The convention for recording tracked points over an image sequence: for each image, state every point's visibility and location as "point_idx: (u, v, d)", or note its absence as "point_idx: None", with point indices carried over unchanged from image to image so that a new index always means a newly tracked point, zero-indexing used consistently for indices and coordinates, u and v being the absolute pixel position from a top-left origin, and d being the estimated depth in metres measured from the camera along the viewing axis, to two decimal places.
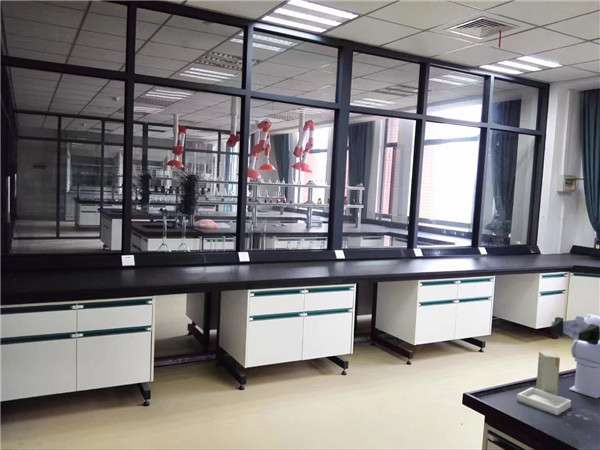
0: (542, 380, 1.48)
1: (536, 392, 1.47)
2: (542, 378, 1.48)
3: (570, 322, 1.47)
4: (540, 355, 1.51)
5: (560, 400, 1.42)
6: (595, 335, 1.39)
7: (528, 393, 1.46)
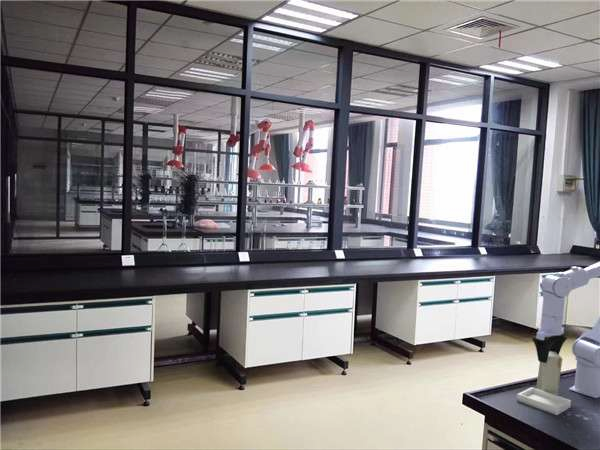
0: (543, 380, 1.47)
1: (536, 392, 1.47)
2: (543, 378, 1.48)
3: None
4: None
5: (560, 400, 1.42)
6: None
7: (528, 393, 1.46)
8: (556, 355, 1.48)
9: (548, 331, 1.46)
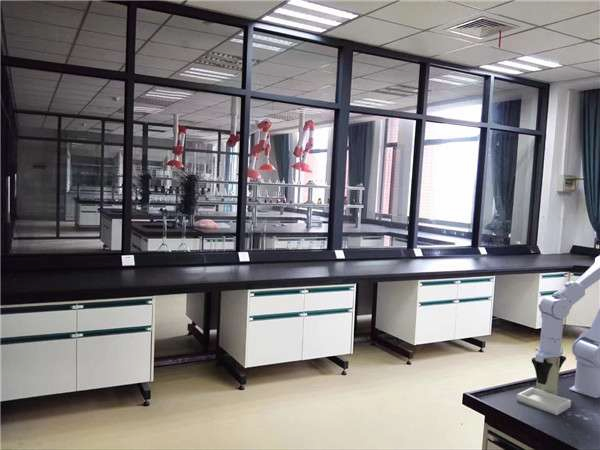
0: None
1: (536, 392, 1.47)
2: None
3: None
4: None
5: (560, 400, 1.42)
6: None
7: (528, 393, 1.46)
8: None
9: (547, 353, 1.47)
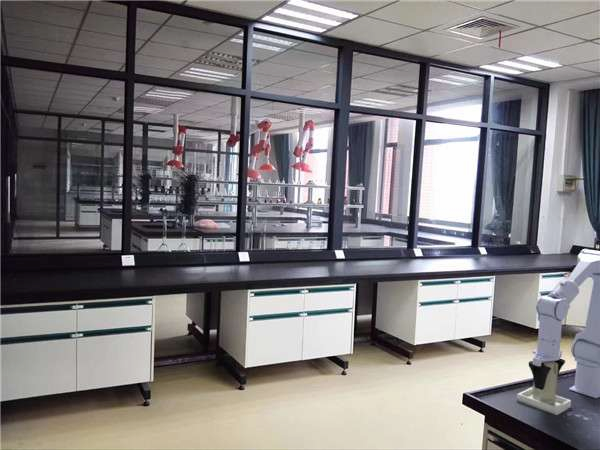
0: None
1: None
2: None
3: None
4: None
5: (560, 400, 1.42)
6: None
7: (528, 393, 1.46)
8: (551, 361, 1.40)
9: (545, 356, 1.38)
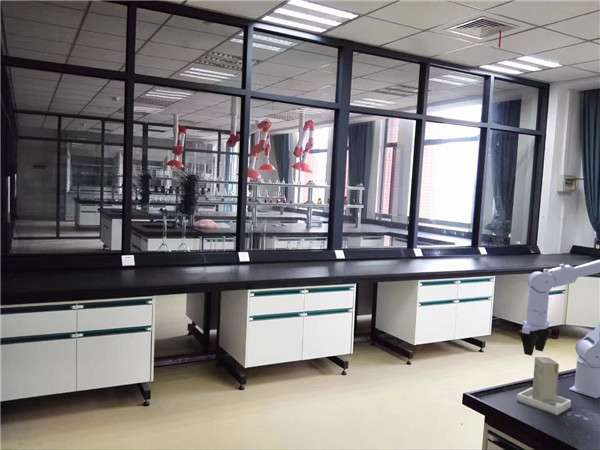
0: (540, 388, 1.39)
1: None
2: (540, 386, 1.40)
3: None
4: (537, 361, 1.42)
5: (560, 400, 1.42)
6: None
7: (528, 393, 1.46)
8: (551, 361, 1.40)
9: (533, 325, 1.53)
